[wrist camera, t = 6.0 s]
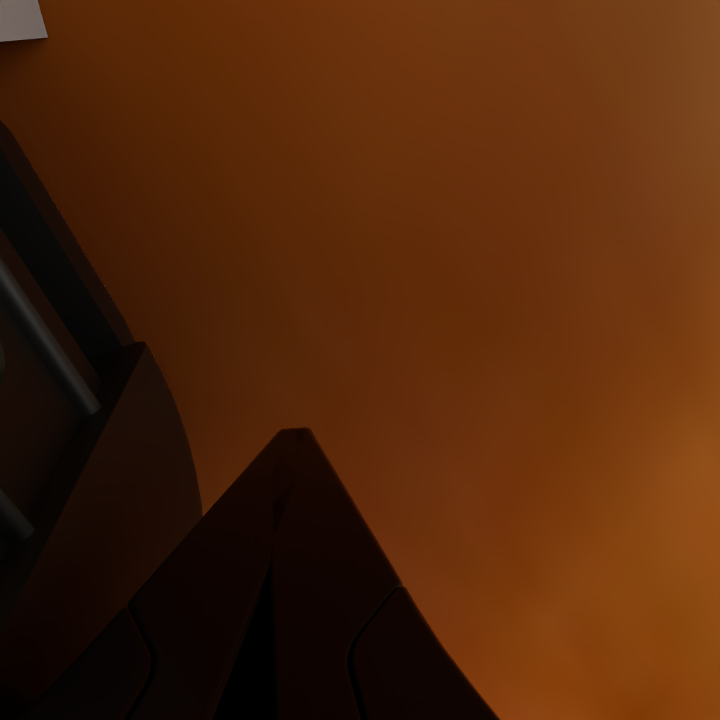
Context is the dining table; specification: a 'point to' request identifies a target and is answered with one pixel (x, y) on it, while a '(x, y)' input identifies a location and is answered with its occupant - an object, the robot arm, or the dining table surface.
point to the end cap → (73, 447)
